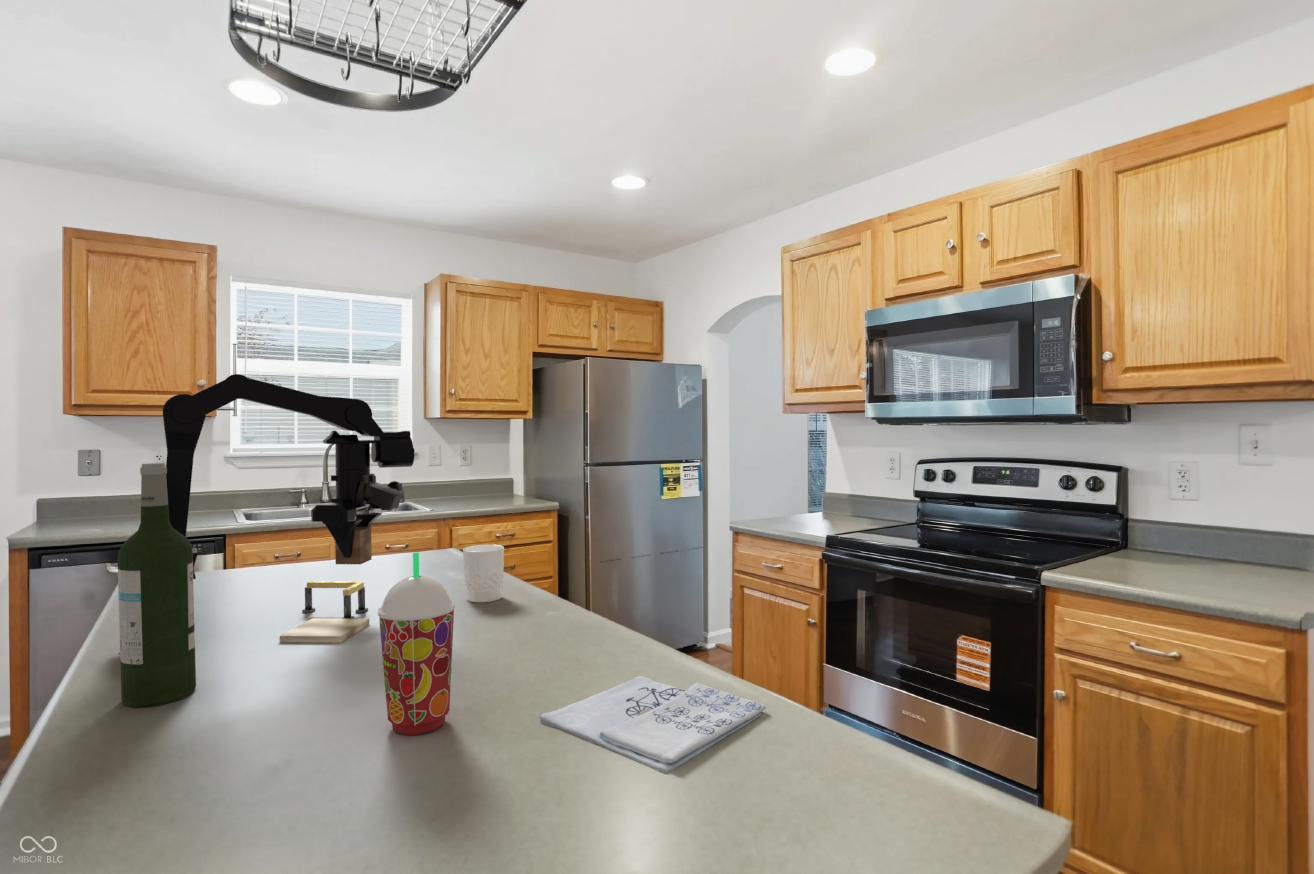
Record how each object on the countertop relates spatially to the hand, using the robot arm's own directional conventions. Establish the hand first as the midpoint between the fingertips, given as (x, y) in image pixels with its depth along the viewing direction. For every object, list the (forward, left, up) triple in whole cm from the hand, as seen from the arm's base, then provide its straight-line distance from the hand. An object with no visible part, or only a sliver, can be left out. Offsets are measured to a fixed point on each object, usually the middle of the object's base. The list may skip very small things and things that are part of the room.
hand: (353, 555), depth 129 cm
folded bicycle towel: (-43, -56, -12) cm, 72 cm away
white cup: (+12, -20, -11) cm, 26 cm away
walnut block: (0, 0, -1) cm, 1 cm away
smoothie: (-46, -29, -11) cm, 55 cm away
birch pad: (-11, 0, -11) cm, 15 cm away
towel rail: (0, +5, -11) cm, 12 cm away
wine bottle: (-38, +8, -11) cm, 40 cm away
